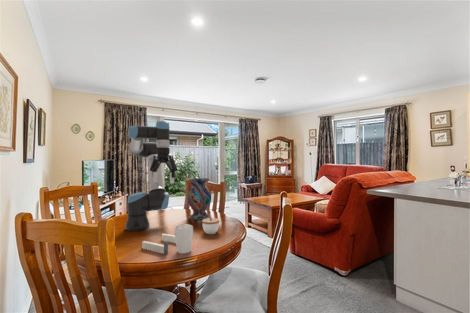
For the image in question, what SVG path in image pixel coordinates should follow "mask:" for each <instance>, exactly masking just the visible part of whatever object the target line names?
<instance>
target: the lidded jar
mask: <svg viewBox="0 0 470 313" xmlns="http://www.w3.org/2000/svg"><path fill="white" fill-rule="evenodd" d="M201 223H202V224H201V225H202V230H203V231H204V232H205V234H207V235H214V234H215V235H216V233H217V232H218V230H219V228H220V218H217V217H211V216H210V217H209V218H206V219H201Z"/></svg>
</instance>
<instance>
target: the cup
mask: <svg viewBox="0 0 470 313" xmlns="http://www.w3.org/2000/svg"><path fill="white" fill-rule="evenodd" d="M174 236H175V239H176V243H175V244H176V251H177V253H178V254H189V253H190V252H191V250H192V246H193V238H194V226H193V225H192V224H187V223H186V224H178V225H176V226H175V227H174Z"/></svg>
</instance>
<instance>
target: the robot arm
mask: <svg viewBox="0 0 470 313" xmlns="http://www.w3.org/2000/svg"><path fill="white" fill-rule="evenodd" d="M128 138H129V139H130V143H129V145H128V150H129V152H130V153H131V154H132V155H133V156H135V157H138V158H146V160H147V162H148V167H149V169H148V170H149V179H150V180H149V182H150V190H149V191H148V193H147V192H146V191H140V192H134V193H132V194H129V195H128V196H127V220H126V222H125V226H124V229H125V231H127V232H137V231H143V230H146V229H149V227H150V222H149V219H148V216H147V212H152V211H153V212H154V211H162V210H166V209H168V206H169V203H170V202H169V201H170V195H169V192H168V191H167V190H166V188H164V181H163V173H162V172H163V170H162V164H165V165H166V166H167V167H168V169H169V171H170V172H169V184H175V177H176V172H178V167H177V164H176V162H175V160H174V155H173V154H170V153H171V152H170V147H171V146H170V144H171V143H170V123H169V121H167V120H166V121H165V120H159V121H156V123H155V126H149V125H148V126H146V125H145V126H144V125H142V126H141V125H130V126H128ZM145 139H146V140H147V139H149V140H150V139H151V140H153V139H155V140H156V141H155V142H154V141H149V142H148V141H144V140H145Z"/></svg>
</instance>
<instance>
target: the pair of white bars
mask: <svg viewBox="0 0 470 313" xmlns="http://www.w3.org/2000/svg"><path fill="white" fill-rule="evenodd" d="M161 241H163V244H160V243H156V242H155V243H154V242H151V241H147V240H143V241H141V248H143V250H146V249H147V251H150V250H151V252H155V253H158V254H162V253H163V254H162V255H168V254H169V243H171V244H176V239H175V234H168V233H161Z"/></svg>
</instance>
